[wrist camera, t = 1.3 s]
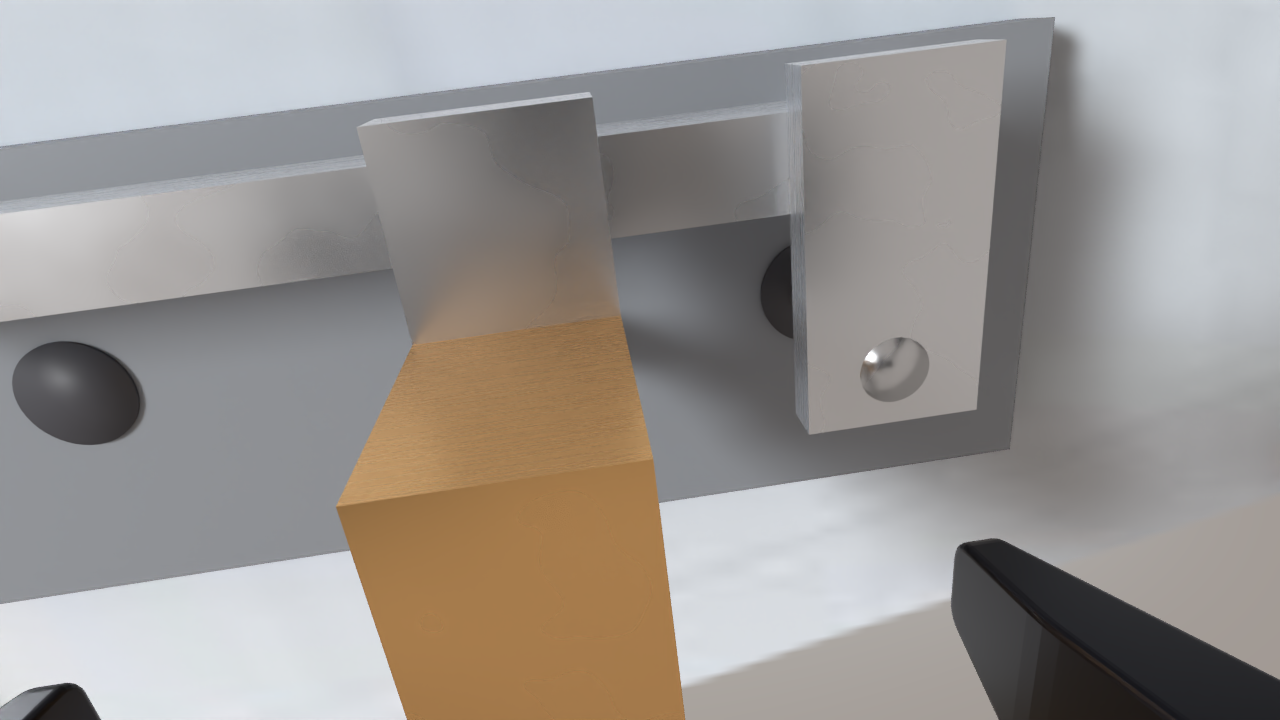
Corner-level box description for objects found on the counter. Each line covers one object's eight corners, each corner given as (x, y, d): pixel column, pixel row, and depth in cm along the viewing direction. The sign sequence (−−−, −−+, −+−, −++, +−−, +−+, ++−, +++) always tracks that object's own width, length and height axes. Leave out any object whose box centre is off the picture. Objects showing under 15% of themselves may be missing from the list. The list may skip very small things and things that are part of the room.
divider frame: (883, 39, 15) (1006, 39, 11) (877, 322, 17) (976, 409, 13) (-276, 184, 14) (-626, 246, 10) (-107, 463, 16) (-329, 606, 12)
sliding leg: (581, 78, 14) (614, 135, 6) (626, 408, 17) (688, 750, 9) (420, 98, 14) (227, 184, 6) (492, 427, 17) (432, 794, 9)
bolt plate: (1021, 18, 16) (1057, 17, 15) (984, 426, 20) (1011, 451, 19) (-252, 178, 15) (-323, 190, 13) (-14, 578, 19) (-53, 614, 18)
